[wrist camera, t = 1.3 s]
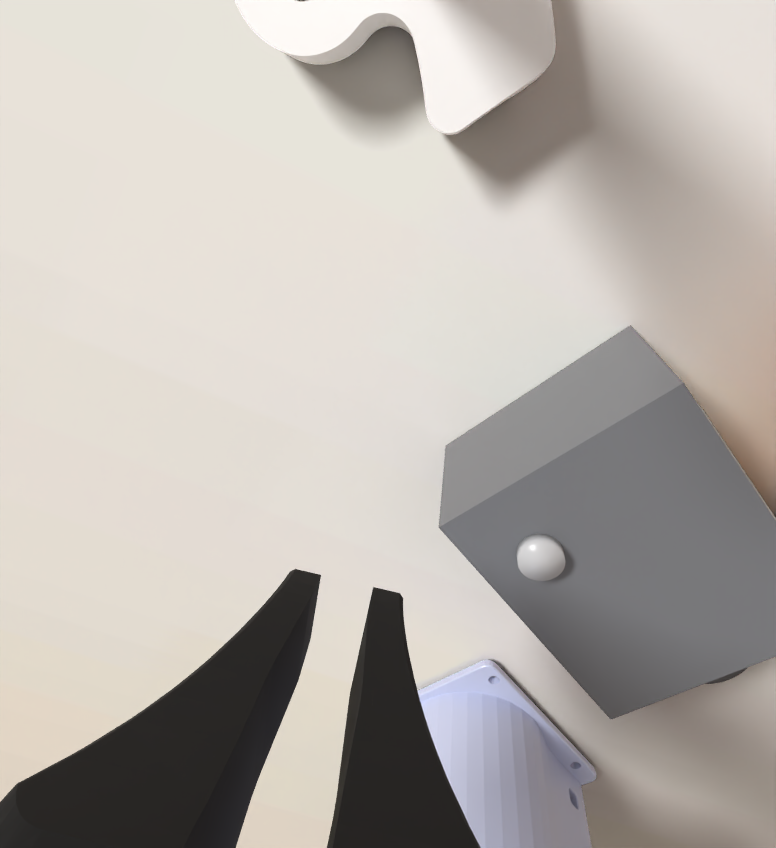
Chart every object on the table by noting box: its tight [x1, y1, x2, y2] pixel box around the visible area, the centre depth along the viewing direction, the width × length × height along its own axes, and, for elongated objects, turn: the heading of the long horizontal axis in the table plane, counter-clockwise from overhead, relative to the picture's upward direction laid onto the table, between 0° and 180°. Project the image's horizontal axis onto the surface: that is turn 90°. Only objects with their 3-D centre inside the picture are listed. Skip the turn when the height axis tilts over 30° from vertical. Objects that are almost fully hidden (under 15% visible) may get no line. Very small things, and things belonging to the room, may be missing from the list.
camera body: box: [439, 325, 776, 719], centre depth 20 cm, size 12×8×6 cm
